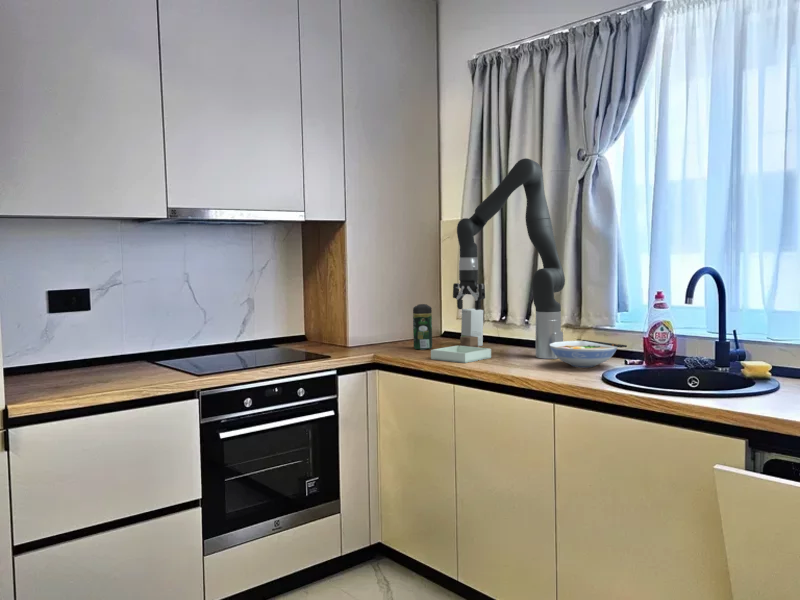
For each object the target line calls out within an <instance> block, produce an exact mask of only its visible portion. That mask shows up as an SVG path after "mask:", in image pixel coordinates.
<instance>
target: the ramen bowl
mask: <svg viewBox="0 0 800 600" xmlns="http://www.w3.org/2000/svg"><path fill="white" fill-rule="evenodd" d="M550 347H551V349H552V351H553V353H554V354H555V355H556V357H557V359H559V360H560V361H562V362H564V363H566V364H569V365H571V366H572V367H574V368H585V369H587V368H589V369H590V368H594V367H596V366H598V365H600V364H603V363H606V362H607V361H609V360H610V359H611V358H612V357H613V356H614V355H615V354H616V351H617V349H618V348H627V347H628V346H627V345H626V344H621V343H613V342H612V343H611V342H604V341H595V340H588V339H579V338H576V339H575V340H567V341H565V340H563V342H554V343H551V344H550Z"/></svg>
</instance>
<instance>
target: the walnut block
mask: <svg viewBox="0 0 800 600" xmlns="http://www.w3.org/2000/svg"><path fill="white" fill-rule="evenodd" d="M459 339H460V340H459V343H460V345H459V346H468V347H479V346H478V337H474V336H464V337H461V336H460V337H459Z"/></svg>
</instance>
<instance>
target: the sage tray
mask: <svg viewBox="0 0 800 600" xmlns="http://www.w3.org/2000/svg"><path fill="white" fill-rule="evenodd" d="M491 358H492V348H487V347H480V346H478V347H468V346H460V345H452V346H445V347H440V348H434V349H430V359H431V360H435V361H445V362H451V363H458V364H459V363H461V364H467V363H468V362H469V363H472V362H477V361H478V360H479V361H483V359H484V360H488V359H491Z"/></svg>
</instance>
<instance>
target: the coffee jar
mask: <svg viewBox="0 0 800 600" xmlns="http://www.w3.org/2000/svg"><path fill="white" fill-rule="evenodd" d="M432 313H433V312H432V307H431V306H430V305H428V304H425V303H420V304H417V305H415V306H414V307H412V327H413V328H412V329H413V330H412V331H413V333H412V335H413V336H412V337H413V348H414V349H415V350H421V351H425V350H432V348H433V316H432V315H433V314H432Z"/></svg>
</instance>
